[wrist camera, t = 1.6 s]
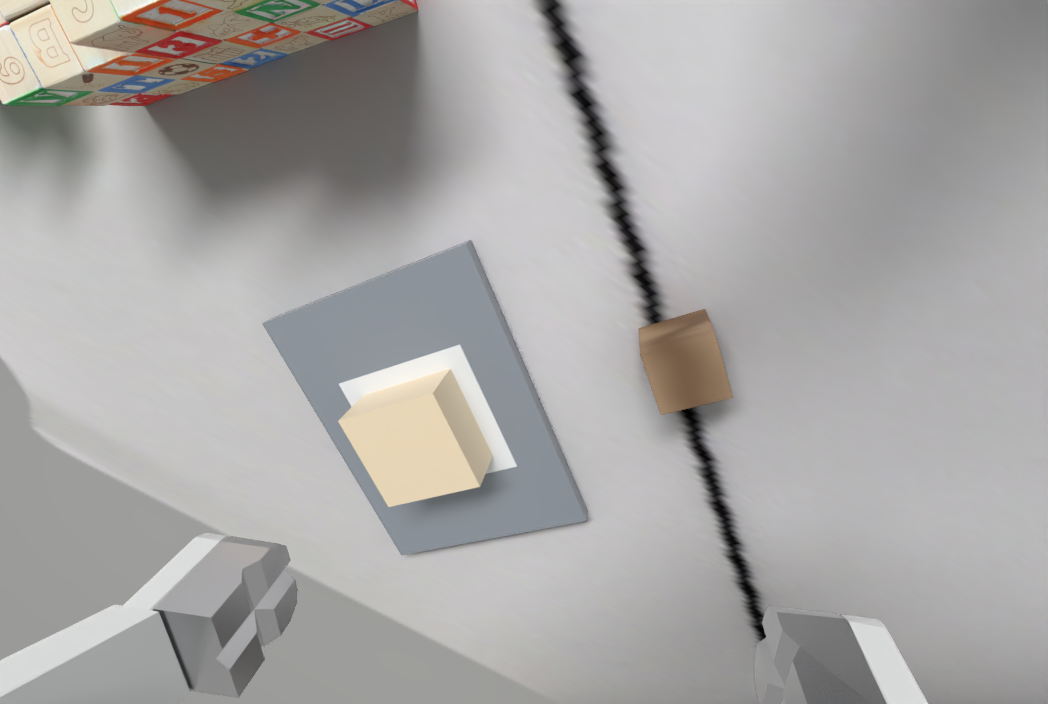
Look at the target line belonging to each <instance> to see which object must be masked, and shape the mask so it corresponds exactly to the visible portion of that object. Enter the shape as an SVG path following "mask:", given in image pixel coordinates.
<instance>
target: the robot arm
mask: <svg viewBox="0 0 1048 704" xmlns="http://www.w3.org/2000/svg"><path fill="white" fill-rule="evenodd" d="M289 562H290V556H289V553H288V550H287V547H286V546H285V545H281V544H277V543H271V542H265V541H259V540H252V539H246V538H240V537H233V536H224V535H218V534H211V533H205V534H202V535H200V536H197V537H195V538H194V539H193V540H192V541H191V542H190V543H189V544H188V545H187V546H186V547H184V548H183V549H182V550H181V551H180V552H179V553H178V554H177V555H176V556H175V557H174V558H173V559H172V560H171V561H170V562H169V563H168V564H167V565H165V566H164V567H163V568H162V569H161V570H160V571H159V572H158V573H157V574H156V575H155V576H154V577H153V578H152V579H151V580H149V581H148V582H147V583H146V584H145V585H144V586H143V587H142V588H141V589H140V590H139V591H138V592H137V593H136V594H135V595H134V596H132V597H131V598H130V599H129V600H128V601H127V602H126V603H125V604H124V605H123V606H122V605H113V606H111V607H109V608H107V609H105V610H103V611H101V612H99V613H96V614H94V615H93V616H90V617H88V618H86V619H84V620H82V621H80V622H78V623H76V624H74V625H72V626H70V627H68V628H66V629H64V630H62V631H60V632H58V633H55V634H53V635H51V636H49V637H47V638H45V639H43V640H41V641H39V642H37V643H35V644H33V645H31V646H29V647H27V648H25V649H23V650H20V651H18V652H16V653H14V654H12V655H10V656H8V657H6V658H4V659H2V660H0V704H179V703H180V702H182V701H183V700H184V699H186V698H187V697H188V696H189V695H191V692H190V691H194V692H201V693H208V694H215V695H222V696H228V697H235V698H239V697H240V695H241V694H242V692H243V690H244V689H245V688H246V686H247V685H248V683H249V682H250V681H251V679H252V678H253V676H254V674H255V673H256V672H257V670H258V669H259V667H260V666H261V664H262V663H263V661H264V660H265V646H266V645H267V644H268V643H270V642H272V641H273V640H275V639H276V638H278V637H279V636H281V635H282V633H283V631H284V630H285V628H286V627H287V625H288V624H289V622H290V621H291V618H292V615H293V612H294V609H295V607H296V604H297V591H298V589H297V585H296V580H295V578H294V577H293V576H292V575H291V574H290V573H289V572H288V571H287V570H286V569H285V568H286V566H287V565H288V563H289ZM762 624H763V628H764V631H765V634H766V638H764V639H763V640H762V641H760V642H759V643H757V647H756V652H755V657H754V681H755V688H756V695H757V699H758V703H759V704H928V702H927V700H926V698H925V696H924V695H923V693H922V691H921V689H920V687H919V686H918V684H917V682H916V680H915V678H914V677H913V675H912V673H911V671H910V669H909V668H908V666H907V664H906V662H905V661H904V659H903V657H902V655H901V653H900V652H899V650H898V648H897V646H896V644H895V643H894V641H893V639H892V637H891V635H890V634H889V632H888V630H887V628H886V626H885V625H884V624H883V623H882V622H881V621H880V620H878V619H875V618H867V617H859V616H851V615H842V614H840V615H838V614H836V613H828V612H819V611H811V610H802V609H793V608H785V607H776V606H769V607H768V608H767V610H766V611H765V614H764V618H763V622H762Z"/></svg>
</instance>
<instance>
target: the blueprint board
mask: <svg viewBox="0 0 1048 704" xmlns="http://www.w3.org/2000/svg"><path fill="white" fill-rule="evenodd" d="M262 324H263V326H264V327H265V329H266V331H267V332H268V334H269V336H270V337H271V339H272V341H273V342H274V344H275V346H276V347H277V349H278V351H279V352H280V354H281V356H282V357H283V359H284V361H285V362H286V364H287V366H288V367H289V369H290V371H291V372H292V374H293V376H294V377H295V379H296V381H297V382H298V384H299V386H300V387H301V389H302V391H303V392H304V394H305V396H306V397H307V399H308V401H309V402H310V404H311V406H312V407H313V409H314V411H315V412H316V414H317V416H318V417H319V419H320V421H321V422H322V424H323V426H324V427H325V429H326V431H327V432H328V434H329V436H330V437H331V439H332V441H333V442H334V444H335V446H336V447H337V449H338V451H339V452H340V454H341V456H342V457H343V459H344V461H345V462H346V464H347V466H348V467H349V469H350V471H351V472H352V474H353V476H354V477H355V479H356V481H357V482H358V484H359V485H360V487H361V489H362V490H363V492H364V494H365V495H366V497H367V499H368V500H369V502H370V504H371V505H372V507H373V509H374V510H375V512H376V514H377V515H378V517H379V519H380V520H381V522H382V524H383V525H384V527H385V529H386V530H387V532H388V534H389V535H390V537H391V539H392V540H393V542H394V544H395V545H396V547H397V549H398V550H399V552H400V554H401V555H406V554H412V553H417V552H422V551H428V550H433V549H438V548H444V547H449V546H455V545H460V544H465V543H471V542H476V541H482V540H487V539H492V538H498V537H503V536H508V535H514V534H519V533H525V532H530V531H535V530H541V529H546V528H552V527H557V526H562V525H568V524H573V523H578V522H584V521H587V512H588V511H587V508H586V506H585V504H584V501H583V499H582V497H581V494H580V492H579V490H578V488H577V485H576V483H575V481H574V478H573V476H572V474H571V471H570V469H569V467H568V464H567V462H566V460H565V457H564V455H563V453H562V450H561V448H560V446H559V443H558V441H557V439H556V437H555V434H554V432H553V430H552V427H551V425H550V423H549V420H548V418H547V416H546V413H545V411H544V409H543V406H542V404H541V402H540V399H539V397H538V395H537V392H536V390H535V388H534V386H533V383H532V381H531V379H530V376H529V374H528V372H527V369H526V367H525V365H524V362H523V360H522V358H521V355H520V353H519V351H518V348H517V346H516V344H515V341H514V339H513V337H512V334H511V332H510V330H509V328H508V325H507V323H506V321H505V318H504V316H503V314H502V311H501V309H500V307H499V304H498V302H497V300H496V297H495V295H494V293H493V290H492V288H491V286H490V283H489V281H488V279H487V277H486V274H485V272H484V270H483V267H482V265H481V263H480V260H479V258H478V256H477V253H476V251H475V249H474V246H473V244H472V242H471V240H469V241H467V242H464V243H462V244H459V245H457V246H454V247H452V248H449V249H447V250H444V251H441V252H439V253H436V254H434V255H431V256H429V257H426V258H424V259H421V260H419V261H416V262H414V263H411V264H408V265H406V266H403V267H401V268H398V269H396V270H393V271H391V272H388V273H386V274H383V275H381V276H378V277H375V278H373V279H370V280H368V281H365V282H363V283H360V284H358V285H355V286H353V287H350V288H347V289H345V290H342V291H340V292H337V293H335V294H332V295H330V296H327V297H325V298H322V299H320V300H317V301H314V302H312V303H309V304H307V305H304V306H302V307H299V308H297V309H294V310H292V311H289V312H286V313H284V314H281V315H279V316H276V317H274V318H271V319H270V320H268V321H266V322H264V323H262Z"/></svg>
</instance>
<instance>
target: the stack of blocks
mask: <svg viewBox="0 0 1048 704" xmlns="http://www.w3.org/2000/svg"><path fill="white" fill-rule="evenodd" d="M417 11H418V7H417V3H416V0H0V100H1V101H2V103H3V104H4V105H13V106H60V105H90V106H105V105H120V106H146V105H148V104H151V103H153V102H156V101H159V100H161V99H164V98H167V97H169V96H172V95H175V94H177V95H179V94H182V93H185V92H188V91H191V90H194V89H196V88H199V87H202V86H205V85H207V84H210V83H212V82H216V81H220V80H222V79H225V78H228V77H231V76H234V75H237V74H240V73H242V72H245V71H248V70H249V69H250V68H252V67H255V66H258V65H261V64H264V63H267V62H270V61H272V60H275V59H278V58H281V57H284V56H287V55H288V54H290V53H294V52H297V51H300V50H303V49H305V48H308V47H311V46H314V45H317V44H319V43H322V42H325V41H327V40H335V39H338V38H341V37H344V36H346V35H349V34H352V33H355V32H358V31H361V30H364V29H367V28H369V27H373V26H376V25H380V24H383V23H386V22H389V21H392V20H395V19H397V18H400V17H403V16H406V15H409V14H412V13H415V12H417Z"/></svg>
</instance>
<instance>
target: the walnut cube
mask: <svg viewBox="0 0 1048 704" xmlns="http://www.w3.org/2000/svg"><path fill="white" fill-rule="evenodd" d="M639 343H640V355H641V358H642V361H643V364H644V367H645V370H646V373H647V376H648V379H649V382H650V384H651V387H652V390H653V393H654V396H655V399H656V402H657V405H658V408H659V411H660V414H661V415H663V414H667V413H672V412H676V411H680V410H684V409H688V408H692V407H697V406H701V405H705V404H709V403H713V402H718V401H722V400H726V399H730V398H733V395H732V391H731V388H730V384H729V381H728V377H727V374H726V370H725V367H724V363H723V360H722V356H721V352H720V349H719V345H718V342H717V338H716V335H715V332H714V330H713V327H712V325H711V323H710V320H709V318H708V315H707V313H706V311H705V309H703V310H699V311H696V312H693V313H689V314H686V315H682V316H679V317H676V318H672V319H669V320H665V321H662V322H659V323H655V324H652V325H649V326H645V327H642V328H639Z"/></svg>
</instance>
